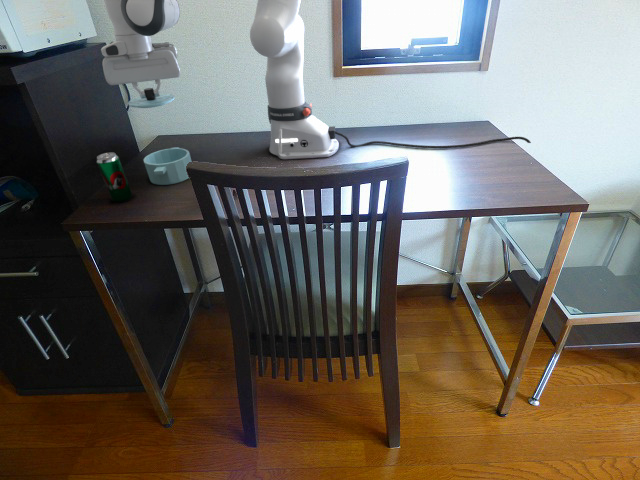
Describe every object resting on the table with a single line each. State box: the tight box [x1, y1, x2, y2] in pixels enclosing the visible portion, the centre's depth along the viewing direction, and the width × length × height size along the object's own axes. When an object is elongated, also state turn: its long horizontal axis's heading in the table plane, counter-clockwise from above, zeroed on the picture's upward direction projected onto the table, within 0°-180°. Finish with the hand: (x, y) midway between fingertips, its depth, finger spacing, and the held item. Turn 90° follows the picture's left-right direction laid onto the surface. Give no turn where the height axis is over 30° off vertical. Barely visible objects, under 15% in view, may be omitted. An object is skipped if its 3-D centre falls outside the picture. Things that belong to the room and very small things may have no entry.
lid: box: [127, 87, 176, 109], centre depth 114 cm, size 13×13×4 cm
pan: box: [142, 146, 193, 186], centre depth 111 cm, size 12×18×6 cm
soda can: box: [96, 151, 133, 203], centre depth 98 cm, size 5×5×12 cm
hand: (150, 97), depth 114 cm, fingers closed on lid, 2 cm apart
